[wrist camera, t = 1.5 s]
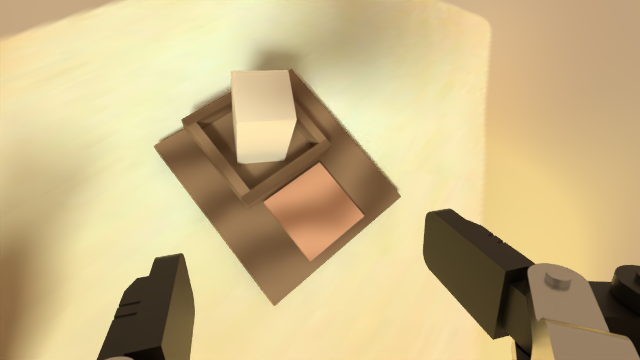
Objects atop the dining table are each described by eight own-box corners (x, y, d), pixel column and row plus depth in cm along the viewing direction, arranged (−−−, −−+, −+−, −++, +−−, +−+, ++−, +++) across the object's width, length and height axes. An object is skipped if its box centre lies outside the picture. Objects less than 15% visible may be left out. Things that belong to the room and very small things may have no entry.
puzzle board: (156, 150, 37) (149, 137, 34) (290, 75, 43) (293, 58, 40) (273, 305, 34) (276, 305, 31) (396, 199, 41) (409, 191, 38)
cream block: (237, 164, 37) (236, 122, 29) (232, 122, 38) (230, 70, 30) (284, 160, 38) (296, 119, 30) (278, 119, 40) (288, 69, 31)
